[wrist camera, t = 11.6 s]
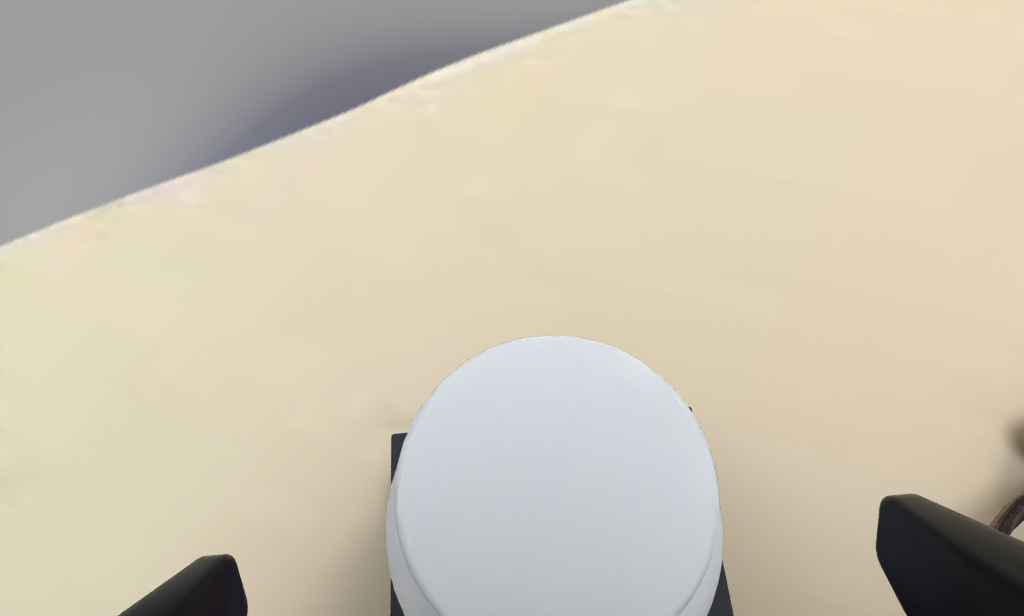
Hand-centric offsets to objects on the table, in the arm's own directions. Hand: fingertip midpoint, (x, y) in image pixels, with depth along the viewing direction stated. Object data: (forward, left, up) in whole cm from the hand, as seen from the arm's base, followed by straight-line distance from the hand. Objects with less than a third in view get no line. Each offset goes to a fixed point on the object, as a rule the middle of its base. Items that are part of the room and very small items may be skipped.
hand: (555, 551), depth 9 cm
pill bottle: (+1, 0, -8) cm, 8 cm away
